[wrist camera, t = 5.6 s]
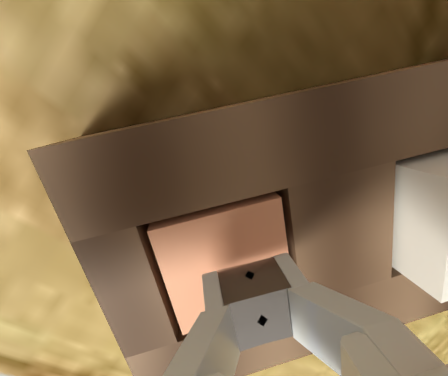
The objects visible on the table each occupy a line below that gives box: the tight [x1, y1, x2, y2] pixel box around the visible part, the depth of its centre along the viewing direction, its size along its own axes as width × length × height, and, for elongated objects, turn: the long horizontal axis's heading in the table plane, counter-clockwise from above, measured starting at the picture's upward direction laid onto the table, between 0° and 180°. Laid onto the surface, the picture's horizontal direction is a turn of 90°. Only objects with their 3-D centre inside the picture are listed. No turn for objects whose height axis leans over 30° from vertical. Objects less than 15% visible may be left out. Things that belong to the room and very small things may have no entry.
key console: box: [27, 59, 448, 376], centre depth 12 cm, size 20×12×4 cm, turn 102°
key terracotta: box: [147, 192, 289, 335], centre depth 11 cm, size 5×5×3 cm
